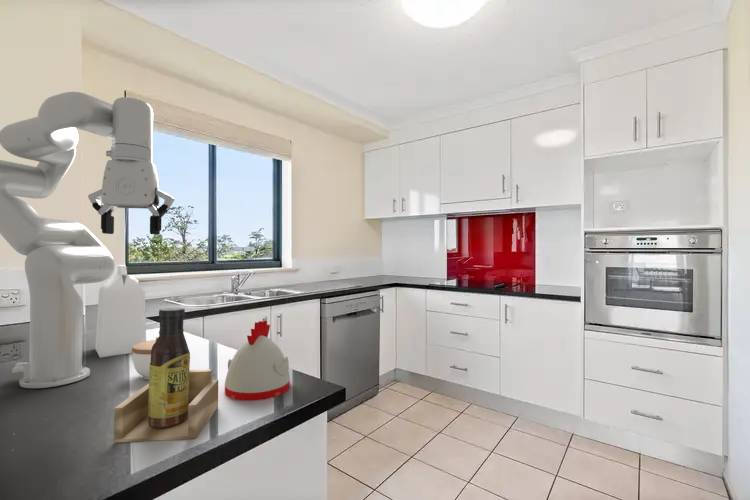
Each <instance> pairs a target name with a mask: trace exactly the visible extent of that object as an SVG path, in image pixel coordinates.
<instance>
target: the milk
mask: <svg viewBox="0 0 750 500" xmlns="http://www.w3.org/2000/svg"><path fill="white" fill-rule="evenodd" d="M139 282H140V281H139V279H137V278H136V277H135V276H133V275H130V276H129V275H128V270H127V265H124V264H117V273H116V274H115V275H114V276H113V277H111V278H109V280H108V281H107V282H105V283H103V284H102V286H101V287H100V288H99V290H98V301H97V317H96V332H95V344H94V345H95V347H94V350H95V352H97V355H98V357H99V358H105V357H106V358H107V357H112V356H119V355H126V354H131V353H132V354H133V352H132V347H133V346H134V345H136V344H138V343H141V342H146V341H147V321H146V319H147V318H146V317H147V316H146V291H145V289H144V287H142V286H141V284H139Z"/></svg>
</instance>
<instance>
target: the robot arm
mask: <svg viewBox="0 0 750 500" xmlns="http://www.w3.org/2000/svg"><path fill="white" fill-rule="evenodd" d="M77 129H79V130H82V131H85V132H88V133H91V134H95V135H98V136H101V137H103V138H107V139H110V140H111V144H112V145H111V148H110V150H106V151H105V155H106V157H108V158H110V159H107V162H106V164H105V168H104V171H103V176H102V185H101V188H100V189H98V190H97V191H94V192H92V193H89V194H88V196H87V198H88V200H89V202H90V203H91V204H92V208H93V209H94V210H95V211H96V212H97V214H99V216H100V229H101V233H102V234H104V235H105V234H106V235H113V234H114V232H115V217H114V216H113V215H112V214H113V213H114V212H115V211H117V209H118V208H119V209H148V211H149V212H150V213H151V214H152V215H150V217H149V234H151V235H157V236H158V235H160V232H161V230H162V218H163V217H164V216H165V214H167V212H169V211H170V209H171V206H173V203H174V201H175V197H173V196H171V195H170V194H168V193H166V192H164V191H162V190H160V186H159V185H160V184H159V177H158V172H157V167H156V164H154V163H153V149H154V147H153V146H154V145H153V144H154V143H153V140H154V139H153V138H154V137H153V134H154V131H153V130H154V111H153V108H152V106H151V105H150V103H147V102H145V101H144V100H141V99H138V98H135V97H127V96H126V97H125V96H123V97H118V98H116V99H114V101H113V103H110V102H107V101H105V100H102V99H100V98H97V97H95V96H92V95H90V94H87V93H84V92H80V91H66V92H62V93H58V94H55V95H52V96H49V97H47V98H45V100H44V101H43V102H42V104H41V105H40V107H39V110H38V112H37V116H35V117H32V118H28V119H24V120H23V119H22V120H19V121H17V122H13V123H9V124H6V125H5V126H4V127H2V129H1V130H0V146H1V147H2V149H4V150H5V151H6V152H8V153H9V154H11V155H13V156H15V157H19V158H22V159H26V160H29V161H35V162H38V164H37V165H36V166H34V165H33V166H32V165H29V164H23V163H17V162H12V161H7V160H2V159H0V235H1V236H2V238H3V239H4V240H5V241H6V242H7V244H9V246H10V247H11V248H12V249H13V250H15V251H16V252H17V253H18V254H20V255H22V256H26V258H25V261H24V272H25V276H26V279H27V285H28V291H29V351H28V352H29V357H28V359H29V360H28V362H27V361H25V362H23V361H21V362H16V363H15V365H14V367H13V368H12V369H11V373H12V374H21V373H22V374H23V377H21V379H20V380H19V386H20V387H21V388H24V389H46V388H53V387H59V386H64V385H69V384H72V383H75V382H79V381H82V380H83V379H86V378H87V377H90V375H91V369H90V368H89V367H86V366H83V348H84V347H83V339H84V336H83V334H84V329H83V328H84V302H83V299H82V296H81V295H80V294H79V292H78V291H77V289H76V288H75V287H74V285H85V284H95V283H96V284H97V283H100V282H103V281H106V280H108V279H110V278H111V276H112V275H113V274H114V272H115V267H116V266H115V265H116V264H115V260H114V257H113V255H112V253H111V252H110V251H109V249H108V248H107V247H106V246H105V245H104V244H103V243H102V242H101V241H100V240H99V239H98V238H97V237H96V236H95V235H94V234H93V233H92V232H91V231H90V230H89V228H87V227H86V226H85V225H83V224H82V223H79V222H76V221H73V220H66V219H65V220H62V219H53V218H47V217H43V216H41V215H40V214H39V213H38V212H37V211H36V210H35V208H34V207H32V206H31V205H30V204H29V203H28V202H26V201H24V200H23V199H21V198H29V199H35V200H37V199H38V200H39V199H45V198H48V197H49V196H51V195H53V193H54V192H55V191H56V189H57V188H58V186H59V185H60V183H61V181H62V180H63V178H64V176H65V175H66V174H67V172H68V171H69V169H70V168H71V165H72V164H73V162H74V161H75V157H76V155H77V154H76V153H77V148H76V146H77V145H78V142H79V133H78V130H77ZM19 197H20V198H19ZM160 198H161V199H162V200H164V202H163V203H162V205H160ZM100 199H101V200H100ZM159 205H160V207H159Z"/></svg>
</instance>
